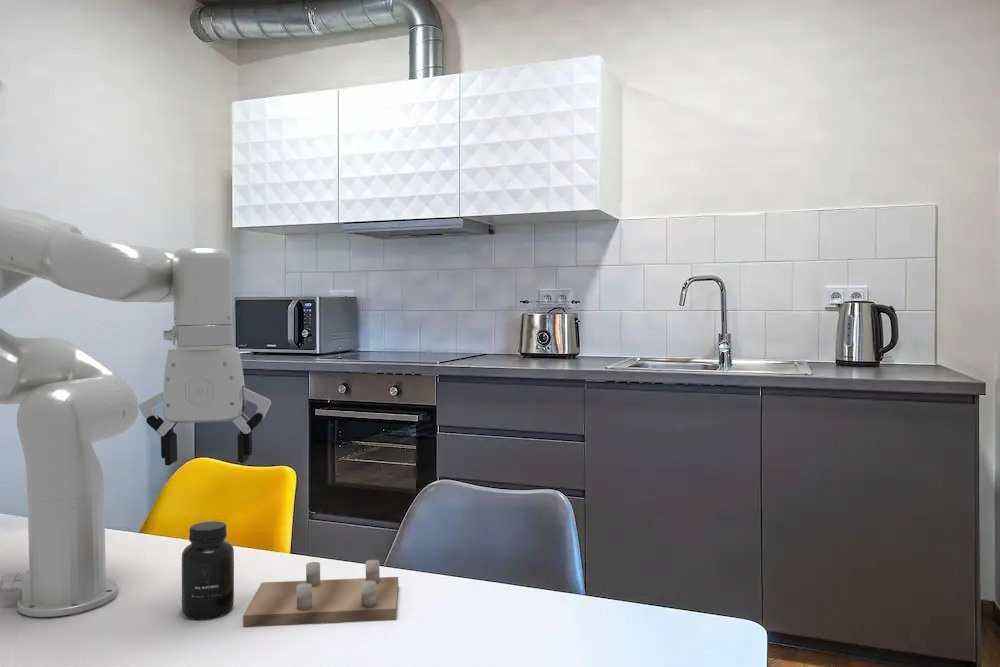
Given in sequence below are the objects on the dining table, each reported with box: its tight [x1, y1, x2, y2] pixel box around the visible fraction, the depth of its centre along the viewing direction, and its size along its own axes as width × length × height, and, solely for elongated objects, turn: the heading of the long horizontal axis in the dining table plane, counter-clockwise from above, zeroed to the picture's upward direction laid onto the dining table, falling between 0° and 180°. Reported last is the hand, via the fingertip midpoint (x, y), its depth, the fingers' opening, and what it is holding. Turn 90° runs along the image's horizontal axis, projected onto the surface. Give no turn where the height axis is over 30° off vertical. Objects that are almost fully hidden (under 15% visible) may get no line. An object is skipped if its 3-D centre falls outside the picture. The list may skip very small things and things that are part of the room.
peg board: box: [242, 559, 399, 628], centre depth 107 cm, size 20×12×4 cm, turn 96°
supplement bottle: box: [181, 520, 235, 620], centre depth 105 cm, size 7×7×12 cm
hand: (207, 462), depth 105 cm, fingers open, 9 cm apart
